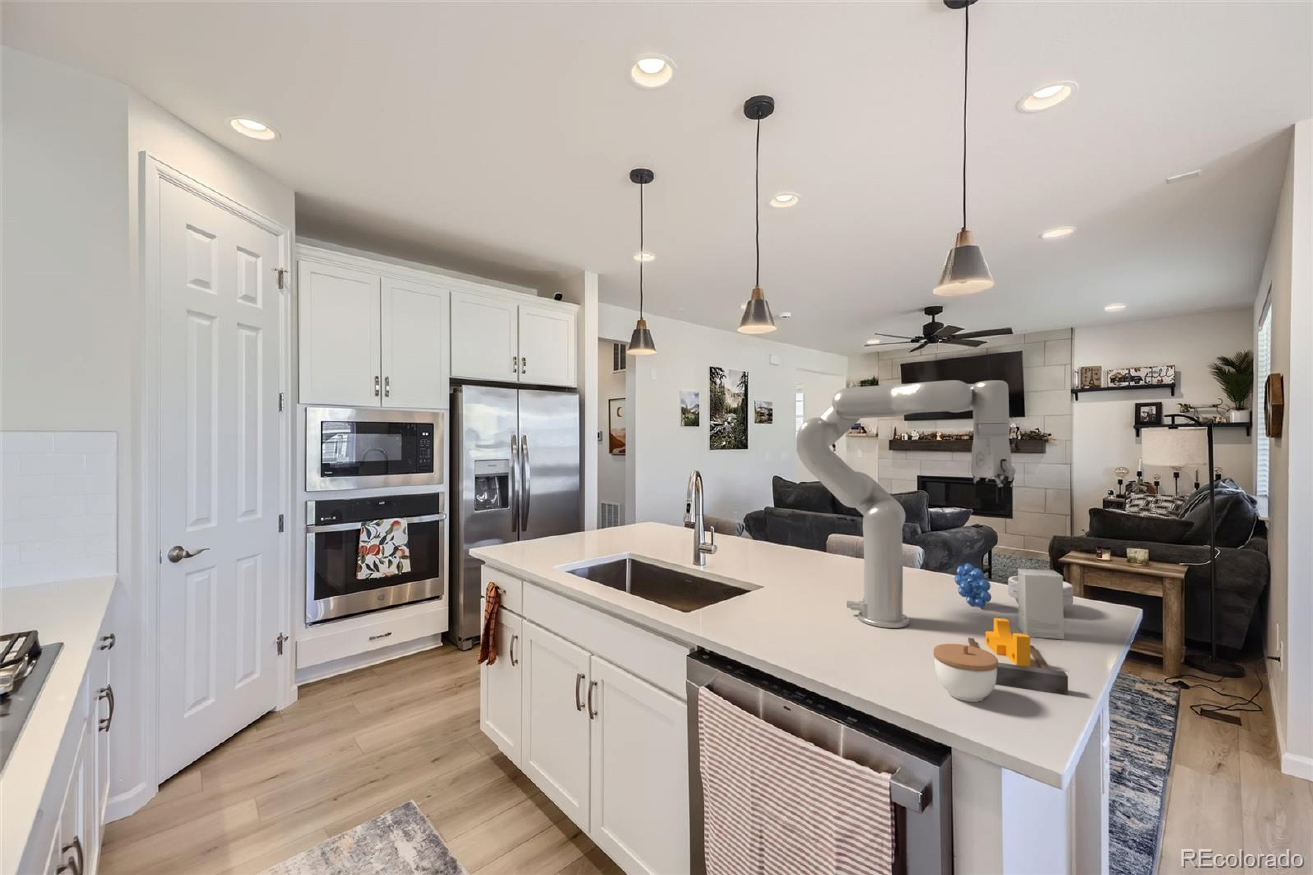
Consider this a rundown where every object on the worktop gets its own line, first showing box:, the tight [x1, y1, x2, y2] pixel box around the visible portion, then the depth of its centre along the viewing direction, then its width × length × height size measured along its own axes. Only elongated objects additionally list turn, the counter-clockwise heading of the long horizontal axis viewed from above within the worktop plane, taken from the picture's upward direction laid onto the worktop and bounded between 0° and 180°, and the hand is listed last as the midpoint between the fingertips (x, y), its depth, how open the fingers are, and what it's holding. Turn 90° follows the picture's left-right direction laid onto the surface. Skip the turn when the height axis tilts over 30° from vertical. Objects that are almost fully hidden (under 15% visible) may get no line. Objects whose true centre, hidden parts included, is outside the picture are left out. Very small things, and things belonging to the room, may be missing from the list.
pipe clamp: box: [985, 617, 1031, 667], centre depth 124 cm, size 12×4×6 cm, turn 169°
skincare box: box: [1017, 568, 1065, 640], centre depth 136 cm, size 8×7×16 cm
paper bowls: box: [1007, 575, 1074, 610], centre depth 157 cm, size 15×15×8 cm
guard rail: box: [967, 637, 1069, 696], centre depth 118 cm, size 14×24×4 cm, turn 157°
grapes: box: [954, 563, 992, 609], centre depth 159 cm, size 12×7×12 cm, turn 19°
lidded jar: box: [933, 643, 999, 703], centre depth 105 cm, size 11×11×9 cm
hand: (992, 501), depth 135 cm, fingers open, 9 cm apart
